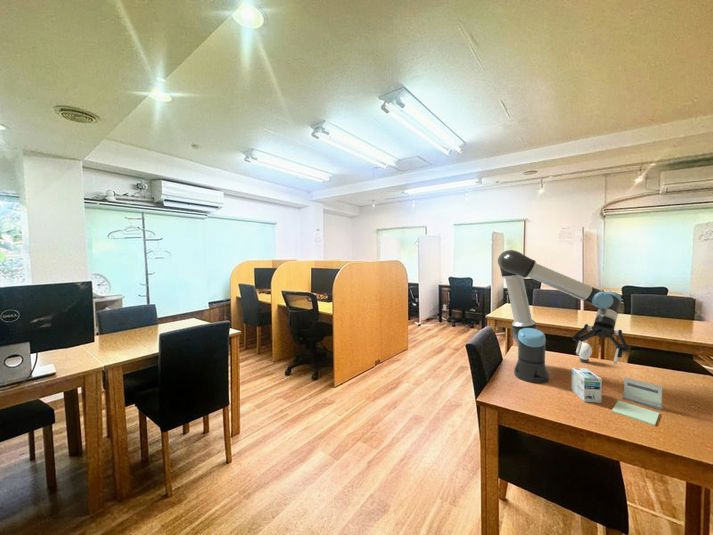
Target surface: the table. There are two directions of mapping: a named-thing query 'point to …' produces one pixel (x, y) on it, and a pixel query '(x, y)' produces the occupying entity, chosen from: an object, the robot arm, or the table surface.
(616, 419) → the table surface
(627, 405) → the pad
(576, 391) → the light bulb box
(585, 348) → the light bulb
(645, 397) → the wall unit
